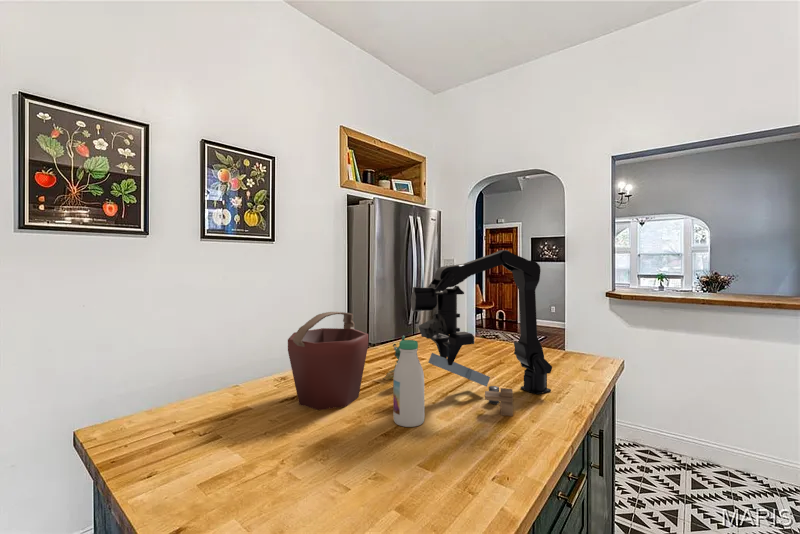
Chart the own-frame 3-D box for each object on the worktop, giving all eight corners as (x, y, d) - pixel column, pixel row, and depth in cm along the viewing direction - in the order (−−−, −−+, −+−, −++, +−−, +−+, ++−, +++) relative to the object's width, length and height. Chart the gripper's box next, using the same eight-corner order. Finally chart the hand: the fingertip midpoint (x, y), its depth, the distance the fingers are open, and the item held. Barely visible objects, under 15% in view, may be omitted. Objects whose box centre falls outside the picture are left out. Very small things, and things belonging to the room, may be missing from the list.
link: (472, 380, 120) (475, 370, 120) (486, 386, 113) (490, 377, 114) (424, 360, 112) (428, 351, 112) (437, 366, 106) (441, 356, 106)
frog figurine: (432, 372, 136) (429, 332, 135) (393, 389, 125) (389, 345, 124) (415, 366, 144) (411, 328, 142) (376, 381, 133) (372, 340, 131)
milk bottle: (428, 417, 98) (427, 339, 97) (419, 429, 91) (419, 345, 90) (399, 413, 100) (399, 337, 100) (389, 425, 93) (388, 343, 93)
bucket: (342, 380, 128) (341, 305, 127) (387, 397, 112) (386, 312, 111) (272, 400, 110) (271, 313, 110) (314, 423, 95) (313, 322, 94)
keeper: (485, 408, 103) (485, 386, 103) (512, 410, 102) (512, 388, 102) (484, 414, 99) (484, 391, 99) (512, 416, 98) (513, 393, 98)
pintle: (494, 399, 109) (494, 385, 109) (501, 403, 107) (501, 388, 107) (486, 401, 108) (486, 386, 108) (493, 405, 106) (493, 389, 106)
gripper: (407, 308, 116) (407, 359, 116) (440, 316, 99) (440, 376, 99) (438, 305, 121) (438, 355, 121) (475, 313, 104) (475, 370, 104)
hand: (446, 363), depth 111 cm, fingers closed on link, 3 cm apart
